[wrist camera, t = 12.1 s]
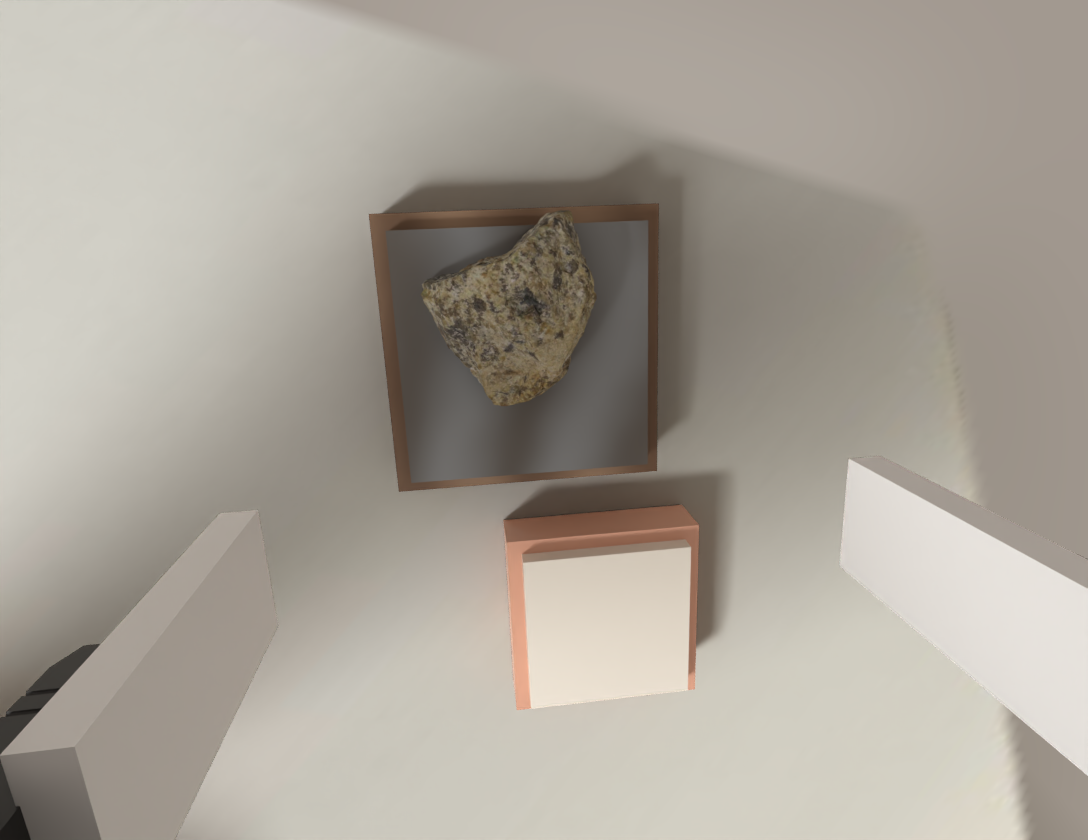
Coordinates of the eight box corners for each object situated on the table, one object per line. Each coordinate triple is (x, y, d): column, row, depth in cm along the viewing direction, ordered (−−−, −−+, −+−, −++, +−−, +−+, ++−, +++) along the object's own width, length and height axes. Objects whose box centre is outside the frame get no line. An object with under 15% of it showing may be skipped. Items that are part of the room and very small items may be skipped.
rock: (625, 338, 32) (650, 352, 28) (487, 412, 32) (491, 438, 28) (560, 205, 30) (576, 198, 26) (414, 285, 30) (405, 291, 26)
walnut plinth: (404, 472, 37) (397, 498, 33) (377, 216, 33) (365, 213, 29) (642, 453, 38) (661, 477, 34) (642, 206, 34) (664, 202, 31)
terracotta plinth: (513, 677, 41) (518, 721, 37) (503, 520, 38) (507, 550, 34) (679, 658, 42) (700, 700, 39) (682, 504, 39) (705, 532, 36)
